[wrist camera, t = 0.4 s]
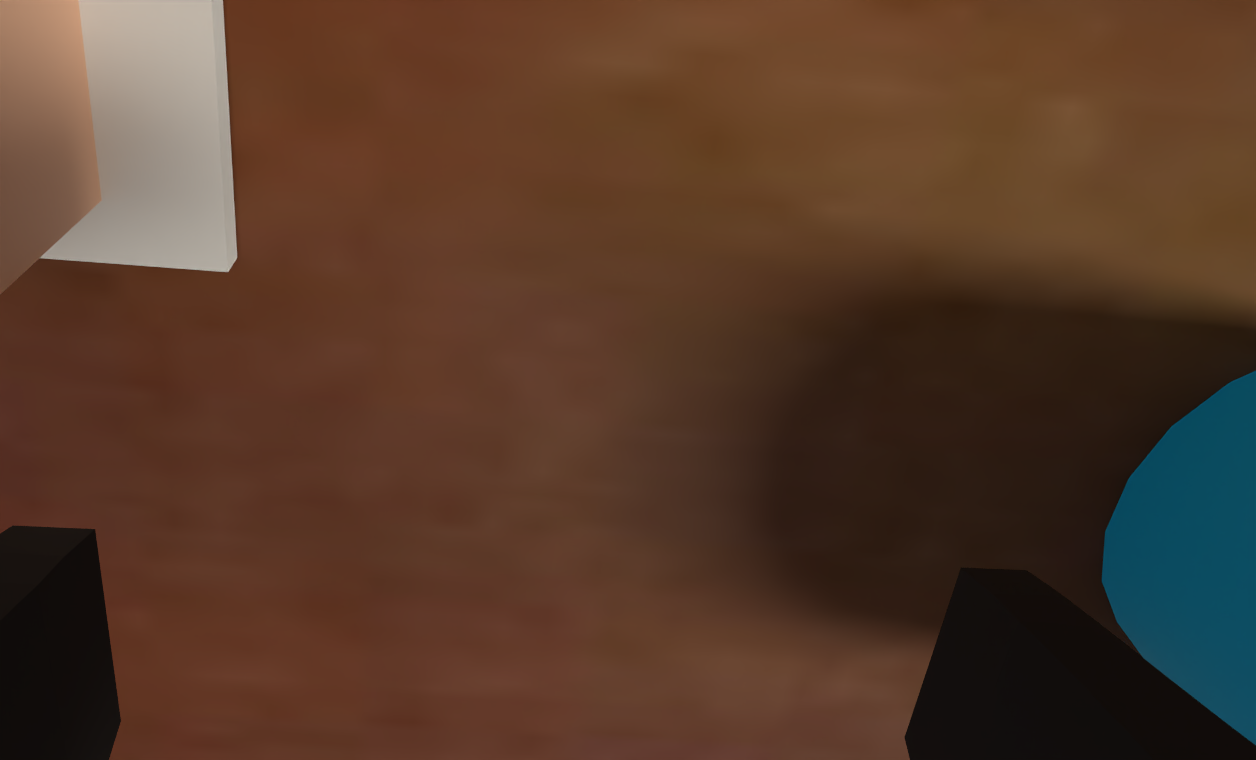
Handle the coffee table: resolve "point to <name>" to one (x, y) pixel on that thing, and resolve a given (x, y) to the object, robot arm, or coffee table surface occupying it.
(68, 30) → the t block
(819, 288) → the coffee table surface
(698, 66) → the coffee table surface
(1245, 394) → the mug
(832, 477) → the coffee table surface
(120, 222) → the push mat
